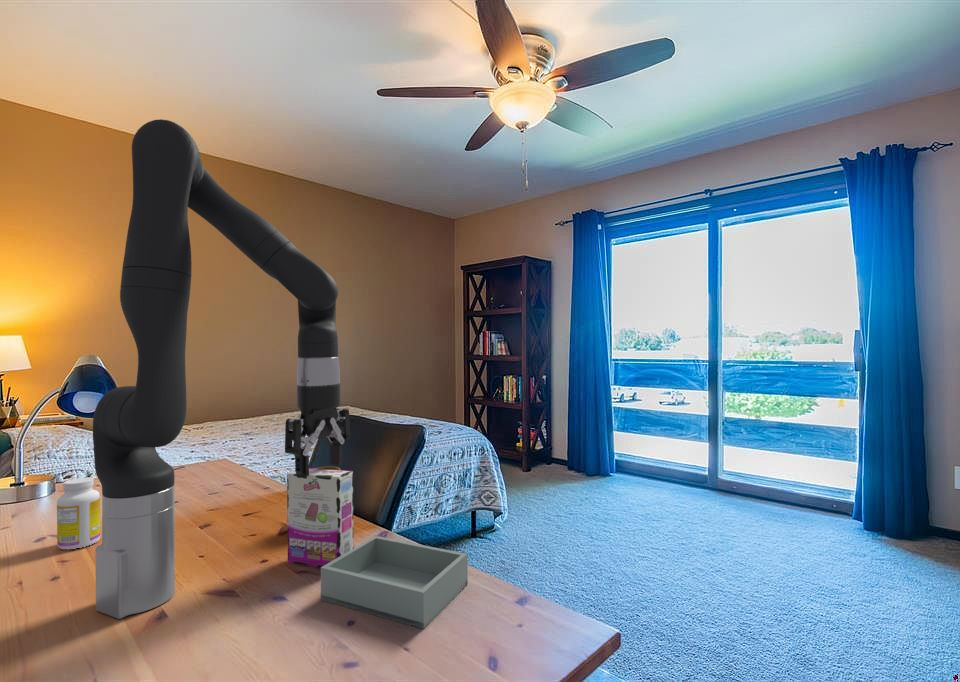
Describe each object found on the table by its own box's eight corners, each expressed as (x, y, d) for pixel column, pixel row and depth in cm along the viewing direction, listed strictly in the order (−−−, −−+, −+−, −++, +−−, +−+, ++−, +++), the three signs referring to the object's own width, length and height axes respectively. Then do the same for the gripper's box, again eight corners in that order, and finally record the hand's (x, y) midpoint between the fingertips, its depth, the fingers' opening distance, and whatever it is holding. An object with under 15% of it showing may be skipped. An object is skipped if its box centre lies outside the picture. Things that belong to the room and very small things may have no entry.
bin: (423, 628, 67) (423, 592, 67) (320, 599, 75) (320, 567, 75) (467, 584, 79) (467, 553, 79) (375, 563, 87) (375, 535, 87)
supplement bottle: (95, 535, 102) (95, 474, 102) (104, 543, 97) (104, 479, 97) (53, 545, 96) (53, 481, 96) (61, 554, 92) (60, 487, 92)
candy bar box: (355, 559, 89) (354, 470, 89) (339, 571, 84) (339, 477, 84) (303, 552, 92) (303, 466, 92) (285, 563, 88) (285, 472, 88)
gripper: (305, 386, 81) (307, 483, 81) (360, 379, 94) (361, 462, 94) (272, 385, 84) (274, 478, 84) (329, 378, 97) (331, 458, 97)
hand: (320, 470), depth 89 cm, fingers open, 8 cm apart
